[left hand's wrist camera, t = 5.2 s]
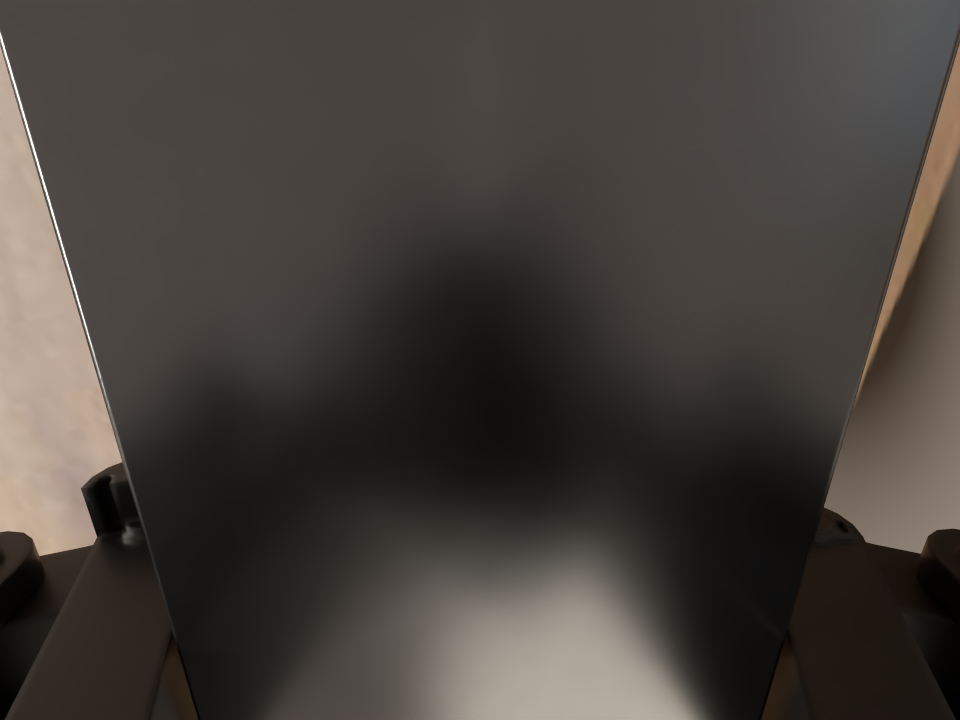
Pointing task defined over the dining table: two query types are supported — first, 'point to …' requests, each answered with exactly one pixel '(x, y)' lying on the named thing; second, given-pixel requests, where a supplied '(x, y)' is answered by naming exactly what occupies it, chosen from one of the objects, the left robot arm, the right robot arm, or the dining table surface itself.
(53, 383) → the dining table surface
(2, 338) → the dining table surface
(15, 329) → the dining table surface
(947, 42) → the box
